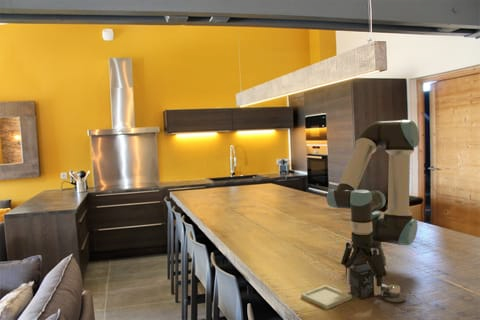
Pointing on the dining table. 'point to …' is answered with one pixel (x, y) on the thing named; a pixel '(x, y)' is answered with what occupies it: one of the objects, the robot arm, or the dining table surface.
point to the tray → (326, 296)
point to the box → (362, 281)
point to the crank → (391, 289)
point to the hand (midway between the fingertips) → (363, 289)
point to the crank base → (394, 298)
